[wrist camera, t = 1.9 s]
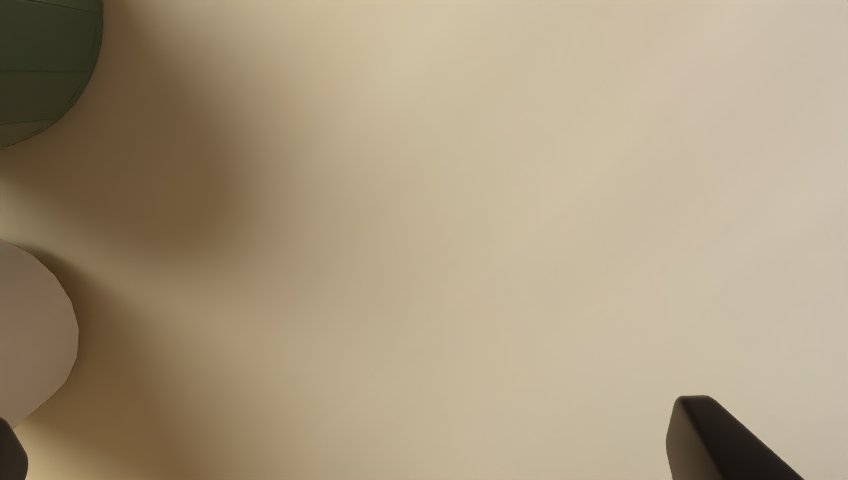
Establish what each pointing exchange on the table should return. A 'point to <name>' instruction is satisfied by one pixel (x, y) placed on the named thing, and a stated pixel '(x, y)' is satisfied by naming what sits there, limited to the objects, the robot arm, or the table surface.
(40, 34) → the pot
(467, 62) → the table surface
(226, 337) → the table surface
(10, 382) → the can
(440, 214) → the table surface
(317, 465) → the table surface
